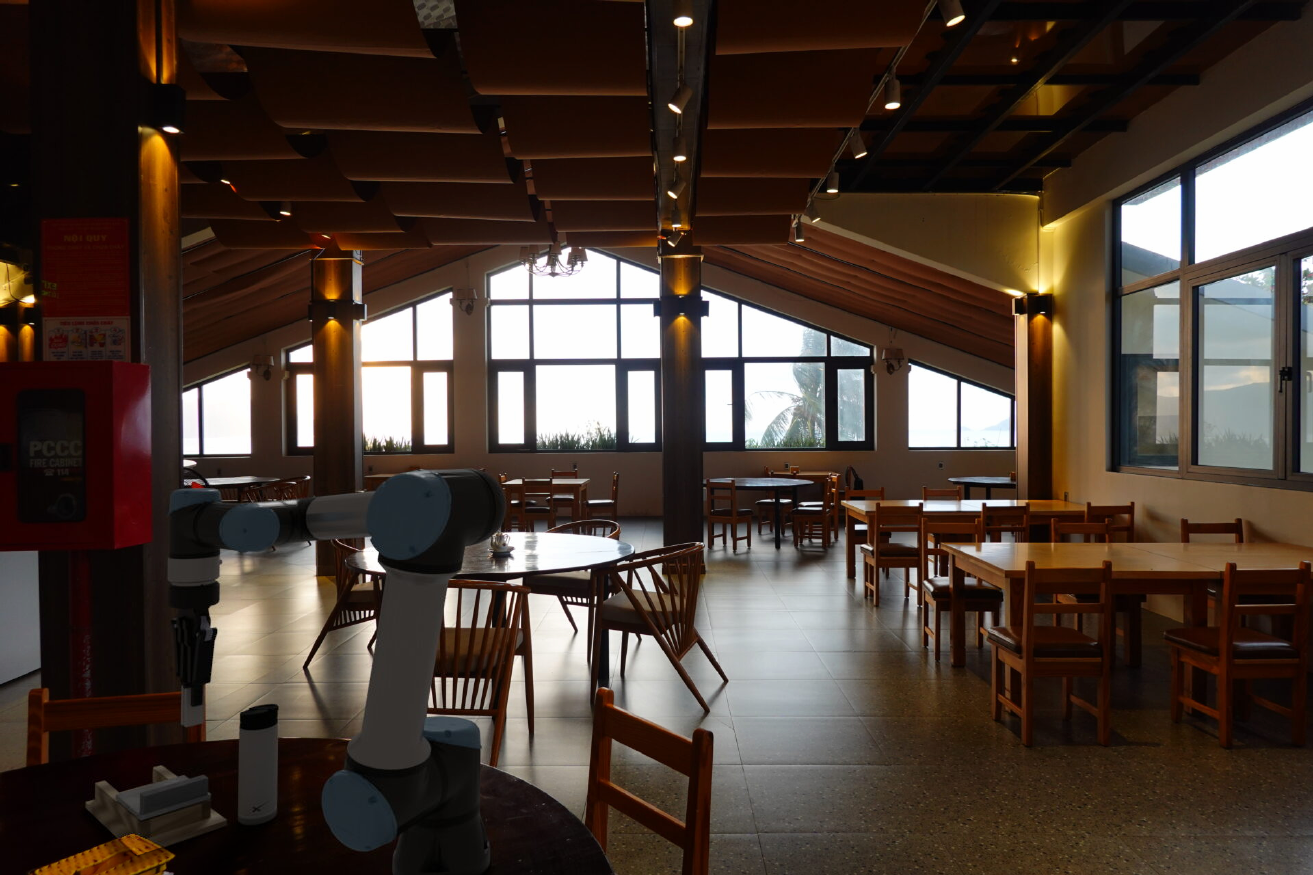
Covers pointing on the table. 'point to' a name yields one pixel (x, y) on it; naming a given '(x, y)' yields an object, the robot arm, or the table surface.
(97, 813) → the holder
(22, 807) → the table surface
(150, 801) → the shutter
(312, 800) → the table surface
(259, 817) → the travel mug
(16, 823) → the table surface
